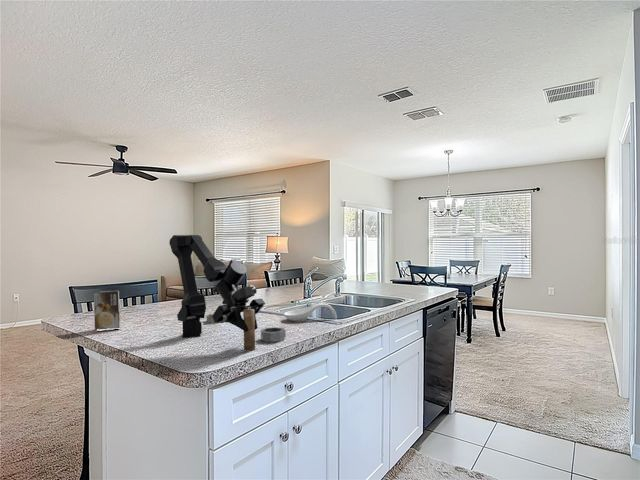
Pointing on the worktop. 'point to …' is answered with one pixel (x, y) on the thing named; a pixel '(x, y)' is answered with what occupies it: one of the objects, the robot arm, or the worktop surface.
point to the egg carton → (210, 318)
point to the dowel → (249, 329)
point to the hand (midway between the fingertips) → (252, 329)
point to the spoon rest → (306, 312)
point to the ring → (273, 334)
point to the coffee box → (106, 309)
